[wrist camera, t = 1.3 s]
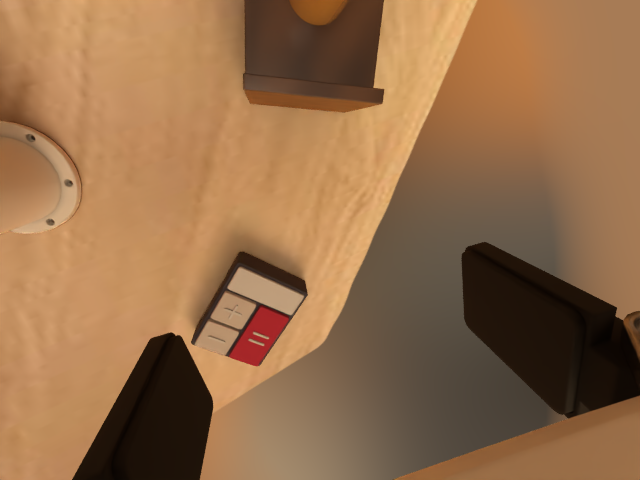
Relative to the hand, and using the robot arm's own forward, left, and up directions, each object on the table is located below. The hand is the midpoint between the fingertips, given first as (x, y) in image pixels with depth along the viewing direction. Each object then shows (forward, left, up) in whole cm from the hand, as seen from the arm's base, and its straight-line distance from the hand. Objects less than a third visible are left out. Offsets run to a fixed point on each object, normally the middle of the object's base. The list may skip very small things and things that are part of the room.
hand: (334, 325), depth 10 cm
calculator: (-4, -20, -33) cm, 38 cm away
